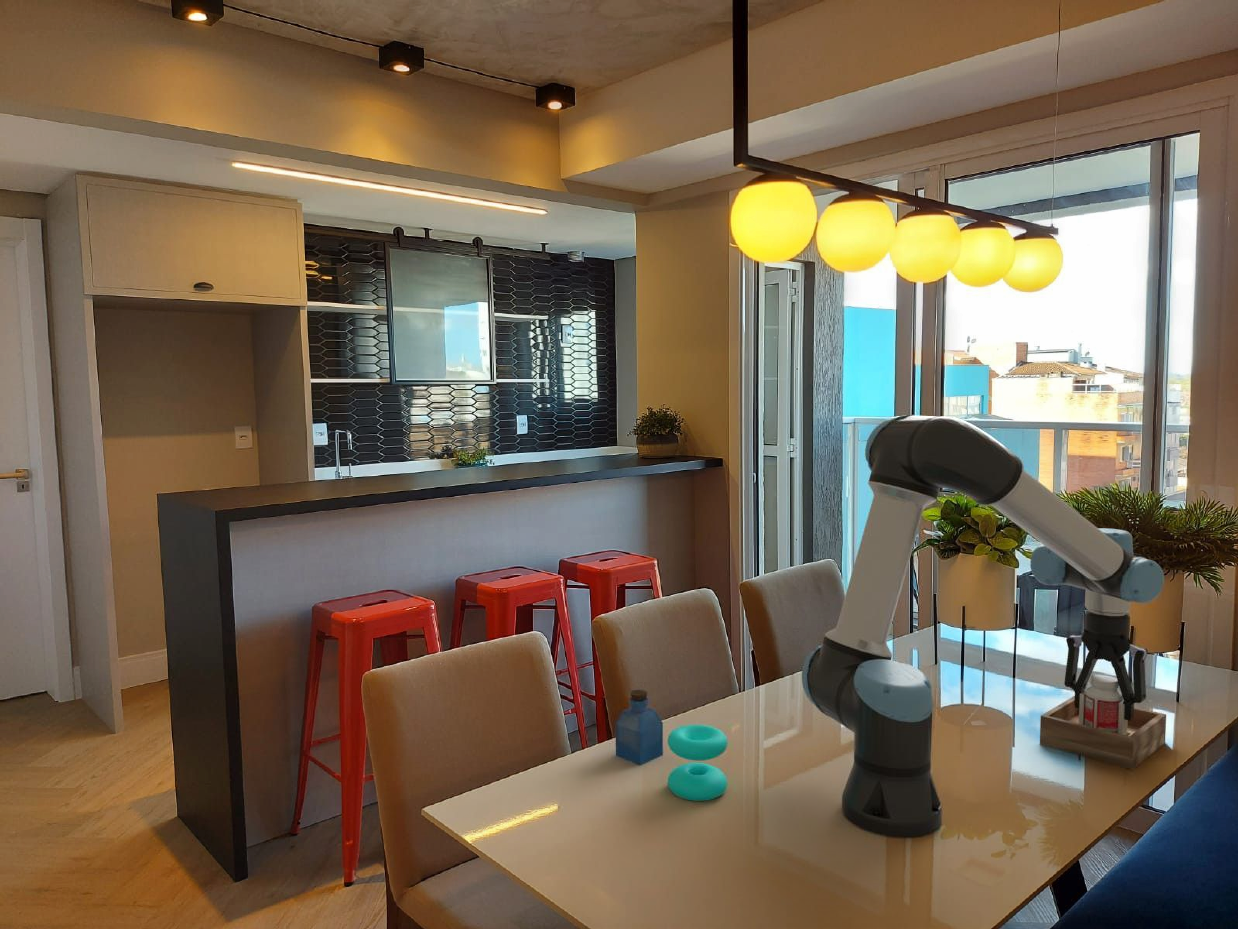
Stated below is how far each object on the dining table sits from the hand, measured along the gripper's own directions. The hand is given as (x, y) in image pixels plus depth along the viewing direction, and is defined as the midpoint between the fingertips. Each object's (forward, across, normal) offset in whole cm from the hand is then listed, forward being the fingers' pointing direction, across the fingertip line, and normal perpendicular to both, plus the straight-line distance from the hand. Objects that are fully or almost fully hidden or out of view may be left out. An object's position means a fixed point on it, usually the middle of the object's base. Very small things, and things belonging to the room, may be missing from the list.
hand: (1102, 730), depth 168 cm
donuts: (+3, +39, +71) cm, 81 cm away
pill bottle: (+1, 0, 0) cm, 1 cm away
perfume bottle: (+3, +56, +68) cm, 89 cm away
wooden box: (+3, 0, 0) cm, 3 cm away
